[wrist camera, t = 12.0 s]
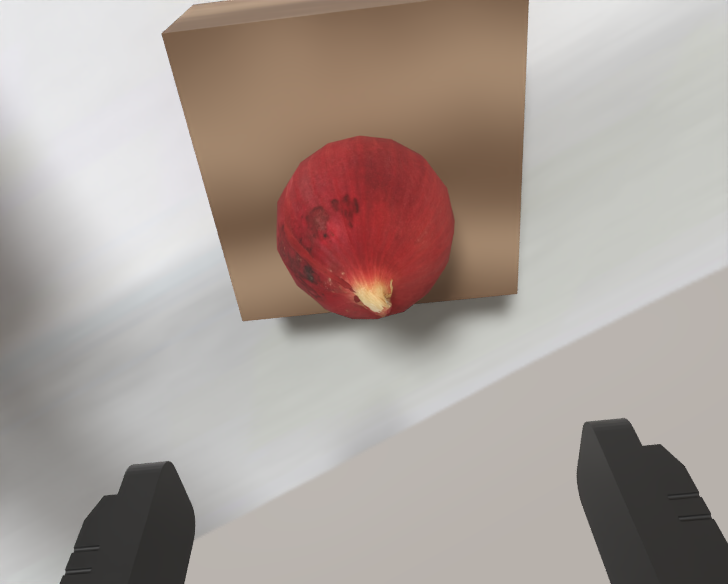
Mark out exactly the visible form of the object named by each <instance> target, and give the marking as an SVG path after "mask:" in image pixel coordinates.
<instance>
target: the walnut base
mask: <svg viewBox="0 0 728 584" xmlns="http://www.w3.org/2000/svg"><path fill="white" fill-rule="evenodd" d="M528 6H529V0H228V1H220V2H212V3H204V4H196V5H193V6H192V7H190V8H189V9H188V10H187V11H186V12H185V13H184V14H183V15H182V16H180V17H179V18H178V19H177V20H176V21H175V22H174V23H173V24H172V25H170V26H169V27H168V28H167V29H166V30H165V31H164V32H163V33H162V37H163V41H164V44H165V48H166V51H167V55H168V58H169V62H170V65H171V69H172V72H173V76H174V80H175V83H176V87H177V90H178V94H179V97H180V101H181V104H182V108H183V111H184V115H185V119H186V122H187V126H188V129H189V133H190V136H191V140H192V143H193V147H194V150H195V154H196V158H197V161H198V165H199V168H200V172H201V175H202V179H203V182H204V186H205V189H206V193H207V197H208V200H209V204H210V207H211V211H212V214H213V218H214V221H215V225H216V228H217V232H218V236H219V239H220V243H221V246H222V250H223V253H224V257H225V260H226V264H227V267H228V271H229V275H230V278H231V282H232V285H233V289H234V292H235V296H236V299H237V303H238V306H239V310H240V314H241V317H242V321H250V320H260V319H270V318H280V317H290V316H300V315H310V314H320V313H330V311H328V310H326V309H324V308H323V307H322V306H321V305H320V304H319V303H318V302H317V301H315V300H314V299H313V298H312V297H311V296H309V295H308V294H307V293H306V292H304V291H303V290H302V289H300V288H299V287H298V286H297V285H296V283H295V281H294V280H293V278H292V276H291V275H290V273H289V271H288V269H287V268H286V266H285V264H284V263H283V261H282V259H281V257H280V255H279V252H278V250H277V240H276V229H277V202H278V200H279V198H280V196H281V194H282V192H283V190H284V188H285V187H286V185H287V184H288V182H289V180H290V179H291V177H292V175H293V174H294V172H295V171H296V169H297V167H298V166H299V164H300V162H302V161H303V160H305V159H306V158H307V157H309V156H310V155H312V154H313V153H315V152H316V151H318V150H319V149H320V148H322V147H323V146H325V145H326V144H328V143H331V142H335V141H339V140H343V139H347V138H351V137H356V136H368V137H377V138H386V139H392V140H394V141H396V142H398V143H400V144H402V145H403V146H405V147H407V148H409V149H411V150H413V151H415V152H417V153H419V154H420V155H422V156H423V157H424V158H425V159H426V161H427V162H428V163H429V165H430V166H431V167H432V169H433V170H434V171H435V173H436V174H437V175H438V177H439V178H440V179H441V181H442V182H443V183H444V185H445V186H446V187H447V189H448V193H449V198H450V202H451V207H452V211H453V215H454V220H455V224H454V235H453V240H452V246H451V251H450V256H449V261H448V263H447V265H446V267H445V269H444V270H443V272H442V273H441V275H440V276H439V278H438V280H437V281H436V283H435V284H434V286H433V287H432V289H431V290H430V292H429V293H427V294H426V295H425V296H424V297H423V298H421V299H420V300H419V301H417V302H416V303H415V304H420V303H430V302H440V301H450V300H460V299H470V298H480V297H490V296H500V295H510V294H517V287H518V262H519V236H520V211H521V185H522V159H523V134H524V108H525V83H526V57H527V32H528Z"/></svg>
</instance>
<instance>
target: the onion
mask: <svg viewBox="0 0 728 584" xmlns="http://www.w3.org/2000/svg"><path fill="white" fill-rule="evenodd" d="M454 224H455V220H454V215H453V211H452V207H451V202H450V198H449V193H448V189H447V187H446V186H445V185H444V183H443V182H442V181H441V179H440V178H439V177H438V175H437V174H436V173H435V171H434V170H433V169H432V167H431V166H430V165H429V163H428V162H427V161H426V159H425V158H424V157H423V156H422V155H420V154H419V153H417V152H415V151H413V150H411V149H409V148H407V147H405V146H403V145H402V144H400V143H398V142H396V141H394V140H392V139H386V138H377V137H368V136H356V137H351V138H347V139H343V140H339V141H335V142H331V143H328V144H326V145H325V146H323V147H322V148H320V149H319V150H318V151H316V152H315V153H313V154H312V155H310V156H309V157H307V158H306V159H305V160H303V161H302V162H300V164H299V166H298V167H297V169H296V171H295V172H294V174H293V175H292V177H291V179H290V180H289V182H288V184H287V185H286V187H285V188H284V190H283V192H282V194H281V196H280V198H279V200H278V202H277V229H276V240H277V250H278V252H279V255H280V257H281V259H282V261H283V263H284V264H285V266H286V268H287V269H288V271H289V273H290V275H291V276H292V278H293V280H294V281H295V283H296V285H297V286H298V287H299V288H300V289H302V290H303V291H304V292H306V293H307V294H308V295H309V296H311V297H312V298H313V299H314V300H315V301H317V302H318V303H319V304H320V305H321V306H322V307H323V308H324V309H326V310H328V311H330V312H333V313H336V314H339V315H342V316H345V317H348V318H351V319H379V318H382V317H386V316H389V315H393V314H397V313H401V312H404V311H405V310H407V309H408V308H409V307H411V306H412V305H413V304H415V303H416V302H417V301H419V300H420V299H421V298H423V297H424V296H425V295H426V294H427V293H429V292H430V290H431V289H432V287H433V286H434V284H435V283H436V281H437V280H438V278H439V276H440V275H441V273H442V272H443V270H444V269H445V267H446V265H447V263H448V261H449V256H450V251H451V246H452V240H453V235H454Z"/></svg>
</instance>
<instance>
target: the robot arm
mask: <svg viewBox="0 0 728 584" xmlns="http://www.w3.org/2000/svg"><path fill="white" fill-rule="evenodd" d="M577 485H578V491H579V496H580V500H581V503H582V506H583V509H584V512H585V514H586V517H587V520H588V522H589V525H590V528H591V531H592V533H593V536H594V539H595V542H596V544H597V547H598V550H599V552H600V555H601V558H602V560H603V563H604V566H605V569H606V571H607V574H608V577H609V580H610V583H611V584H728V543H727V541H726V540H725V538H724V536H723V534H722V532H721V531H720V529H719V527H718V525H717V524H716V522H715V520H714V519H712V518H711V513H710V511H709V509H708V507H707V506H706V504H705V502H704V500H703V498H702V497H700V496H699V491H698V489H697V488H696V486H695V484H694V482H693V481H692V479H691V477H690V475H689V473H688V471H687V470H686V468H685V466H684V465H683V464H682V463H681V462H680V461H678V460H677V459H676V458H675V457H674V456H673V455H672V454H671V453H670V452H668V451H667V450H666V449H665V448H664V447H663V446H662V445H661V444H657V445H647V446H642V444H641V442H640V440H639V438H638V436H637V434H636V433H635V430H634V429H633V427H632V425H631V423H630V422H629V421H628V420H627V419H625V418H621V419H611V420H601V421H591V422H585V423H584V425H583V430H582V438H581V444H580V452H579V459H578V466H577ZM194 535H195V516H194V510H193V507H192V504H191V502H190V500H189V497H188V495H187V493H186V491H185V489H184V486H183V484H182V482H181V480H180V478H179V475H178V473H177V471H176V469H175V467H174V465H173V463H172V462H170V461H166V462H156V463H145V464H135V465H131V466H130V467H129V468H128V469H127V471H126V473H125V475H124V478H123V481H122V484H121V487H120V489H119V492H118V495H107V496H103V498H102V499H101V500H100V501H99V503H98V504H97V505H96V506H95V508H94V509H93V510H92V511H91V513H90V514H89V515H88V517H87V518H86V519H85V520H84V523H83V525H82V528H81V530H80V533H79V535H78V538H77V541H76V543H75V546H74V553H72V554H71V556H70V559H69V561H68V564H67V566H66V569H65V571H66V573H65V575H64V576H63V577H62V579H61V582H60V584H184V582H185V578H186V573H187V568H188V564H189V559H190V555H191V550H192V545H193V541H194Z"/></svg>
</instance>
